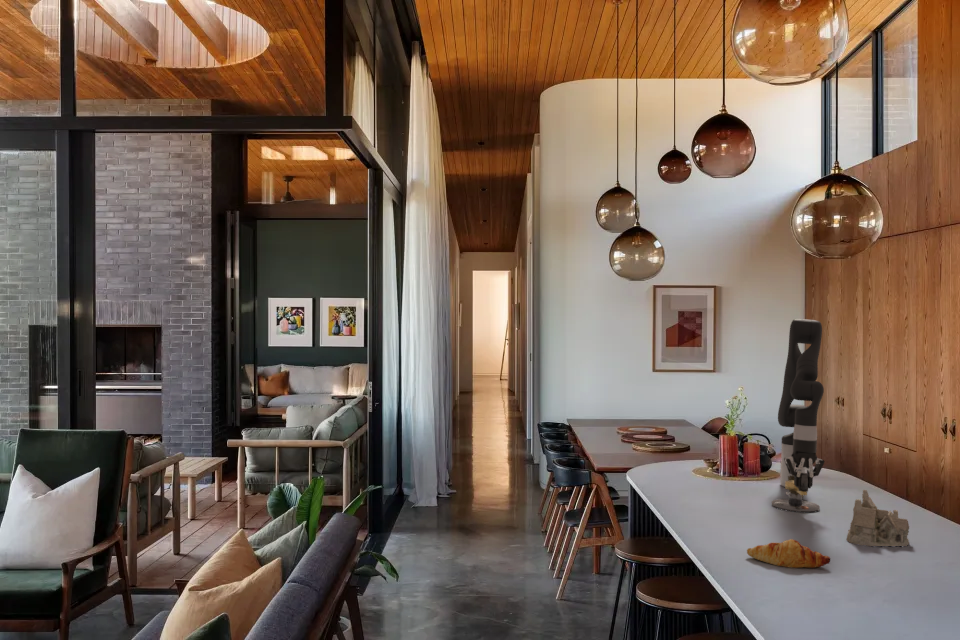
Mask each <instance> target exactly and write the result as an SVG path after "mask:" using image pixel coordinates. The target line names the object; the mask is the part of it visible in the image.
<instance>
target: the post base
mask: <svg viewBox="0 0 960 640" xmlns="http://www.w3.org/2000/svg"><path fill="white" fill-rule="evenodd" d="M785 494H786V495H787V496H788V498H780V499H778V498H777V499H773V500H771V507H773V508H775V509H777V508H778V509H777V510H781V509H782V510H781V511H785V510H787V511H786V512H792V511H794V513H804V512H809V513H816V512H815V511H817V512H819V511H820V510H821V507H820V505H819V504H817V503H814V502H811V501H807V500H803V498H802V495H800V494H799V493H798V492H796V491H791V490H788V491H785ZM818 510H819V511H818Z"/></svg>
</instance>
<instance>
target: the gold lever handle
mask: <svg viewBox="0 0 960 640" xmlns="http://www.w3.org/2000/svg"><path fill="white" fill-rule="evenodd" d="M800 477H801V481H800V488H797V487H796V486H795V485H794V481H785V488H784V489H785V490H788V491H789V490H791V491H796V492H798V493H799V494H800V495H803V496H807V495H808V492H809V488H808V473H807V472H806V473H801V474H800Z"/></svg>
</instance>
